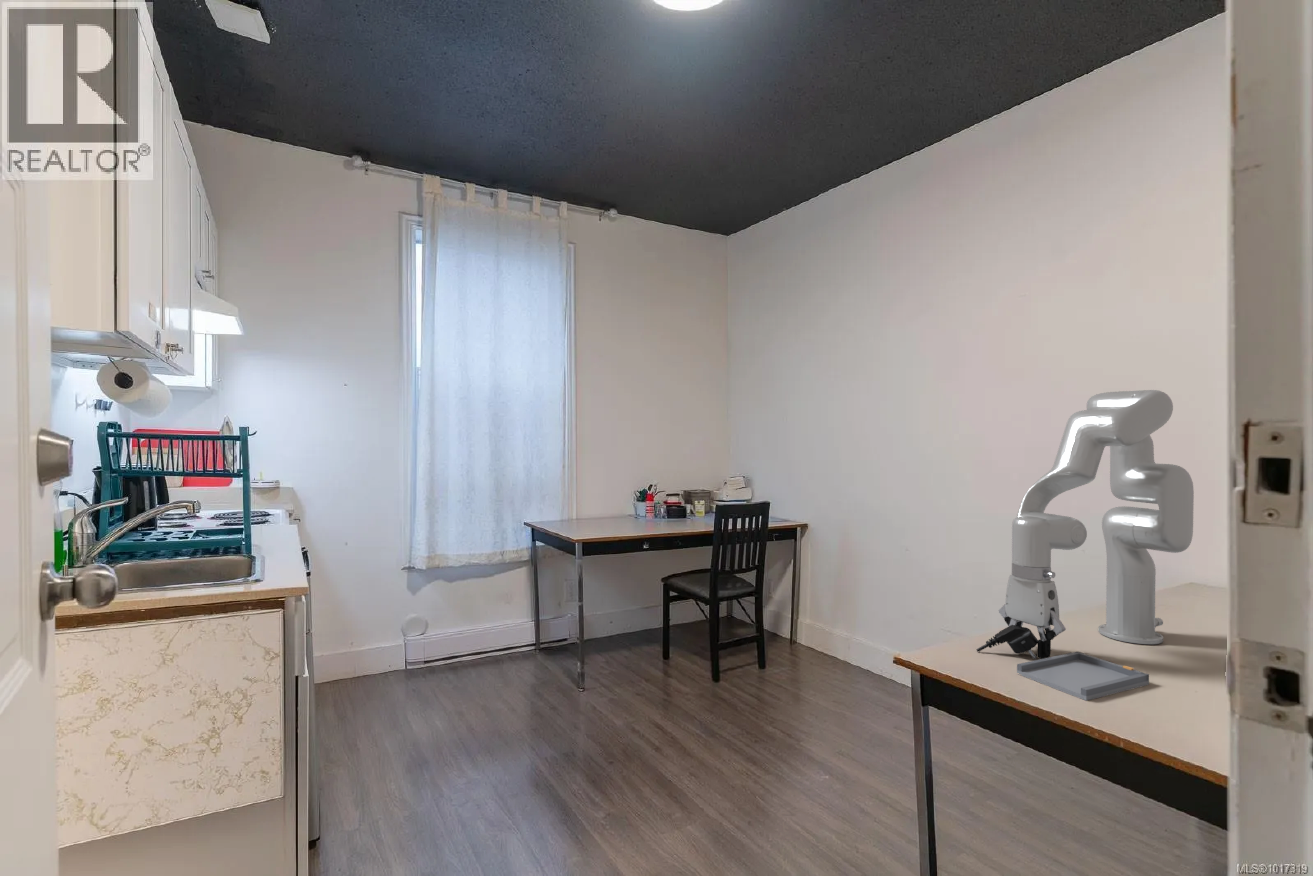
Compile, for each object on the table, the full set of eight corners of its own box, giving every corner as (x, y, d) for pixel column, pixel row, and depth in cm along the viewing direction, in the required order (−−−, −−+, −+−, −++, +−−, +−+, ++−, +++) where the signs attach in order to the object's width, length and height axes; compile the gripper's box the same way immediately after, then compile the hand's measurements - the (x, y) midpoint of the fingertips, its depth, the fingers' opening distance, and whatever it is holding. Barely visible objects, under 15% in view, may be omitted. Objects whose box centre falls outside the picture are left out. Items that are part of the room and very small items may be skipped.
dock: (1077, 660, 137) (1077, 650, 137) (1148, 684, 124) (1148, 673, 124) (1016, 673, 129) (1017, 662, 129) (1086, 700, 116) (1086, 688, 116)
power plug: (972, 643, 145) (1019, 617, 142) (993, 671, 144) (1041, 645, 141) (977, 652, 139) (1027, 624, 136) (999, 681, 138) (1049, 654, 135)
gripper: (1080, 579, 134) (1080, 663, 134) (1007, 563, 149) (1007, 639, 150) (1057, 582, 131) (1056, 668, 131) (985, 566, 146) (984, 643, 147)
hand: (1030, 652), depth 140 cm, fingers closed on power plug, 5 cm apart
